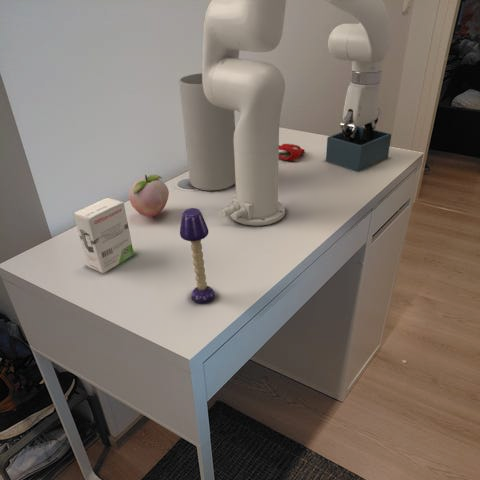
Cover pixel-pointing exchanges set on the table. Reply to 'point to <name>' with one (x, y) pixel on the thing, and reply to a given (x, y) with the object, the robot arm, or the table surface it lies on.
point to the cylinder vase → (207, 137)
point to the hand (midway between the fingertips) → (357, 147)
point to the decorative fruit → (149, 195)
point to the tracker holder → (291, 151)
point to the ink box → (104, 234)
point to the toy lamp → (197, 251)
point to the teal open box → (357, 150)
